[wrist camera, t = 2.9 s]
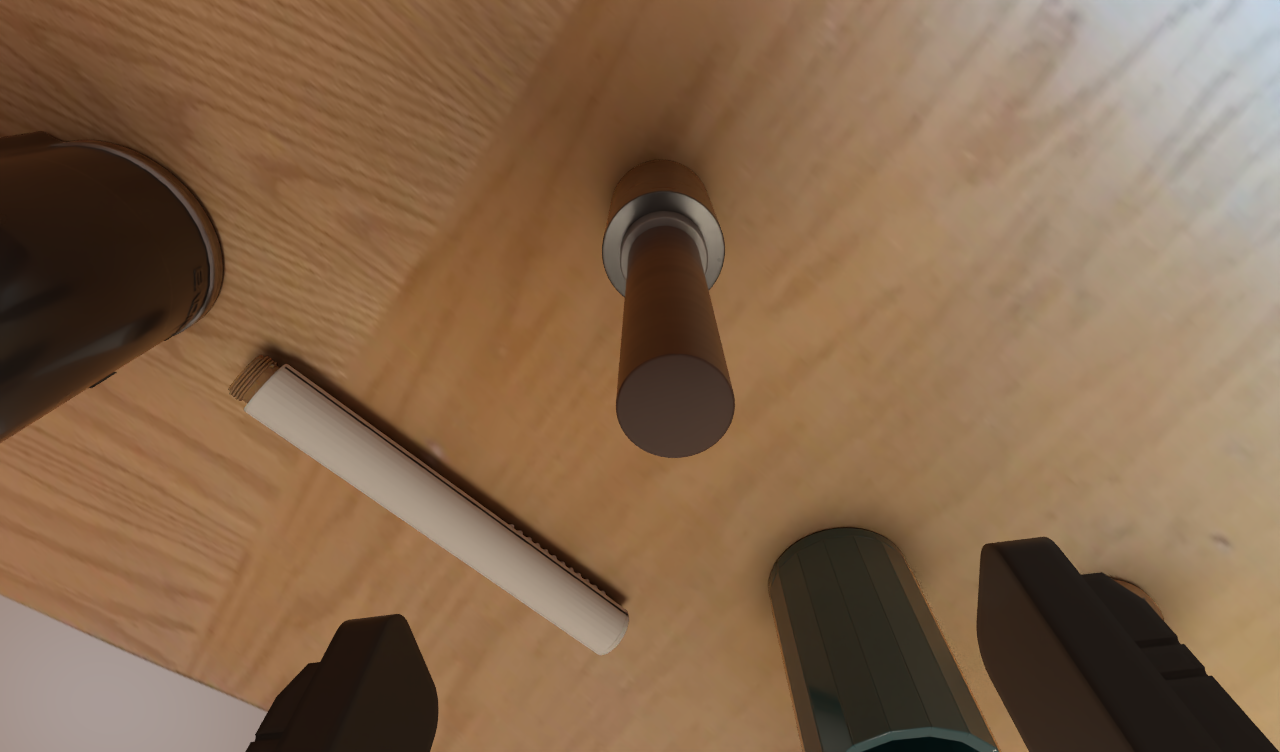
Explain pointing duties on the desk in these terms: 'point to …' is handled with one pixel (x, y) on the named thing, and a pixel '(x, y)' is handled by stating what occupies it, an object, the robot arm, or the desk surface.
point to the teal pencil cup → (868, 652)
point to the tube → (427, 501)
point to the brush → (668, 310)
